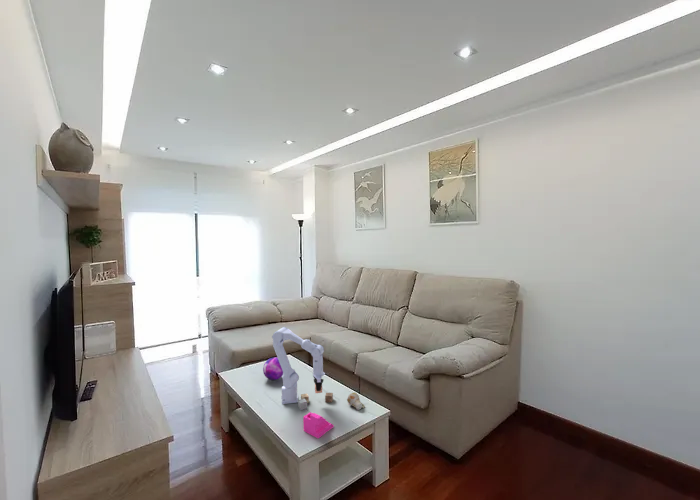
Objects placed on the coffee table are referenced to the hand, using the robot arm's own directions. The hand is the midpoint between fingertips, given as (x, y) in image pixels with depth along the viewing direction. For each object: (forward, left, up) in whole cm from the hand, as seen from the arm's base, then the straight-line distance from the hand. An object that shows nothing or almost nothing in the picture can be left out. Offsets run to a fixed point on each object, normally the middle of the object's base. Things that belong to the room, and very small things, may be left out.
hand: (318, 388), depth 190 cm
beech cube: (-8, +4, -10) cm, 13 cm away
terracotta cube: (0, 0, -2) cm, 2 cm away
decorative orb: (-28, +39, -10) cm, 49 cm away
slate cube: (-9, -2, -10) cm, 14 cm away
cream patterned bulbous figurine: (+22, -7, -10) cm, 24 cm away
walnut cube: (+7, +3, -10) cm, 12 cm away
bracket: (-2, -24, -10) cm, 26 cm away
